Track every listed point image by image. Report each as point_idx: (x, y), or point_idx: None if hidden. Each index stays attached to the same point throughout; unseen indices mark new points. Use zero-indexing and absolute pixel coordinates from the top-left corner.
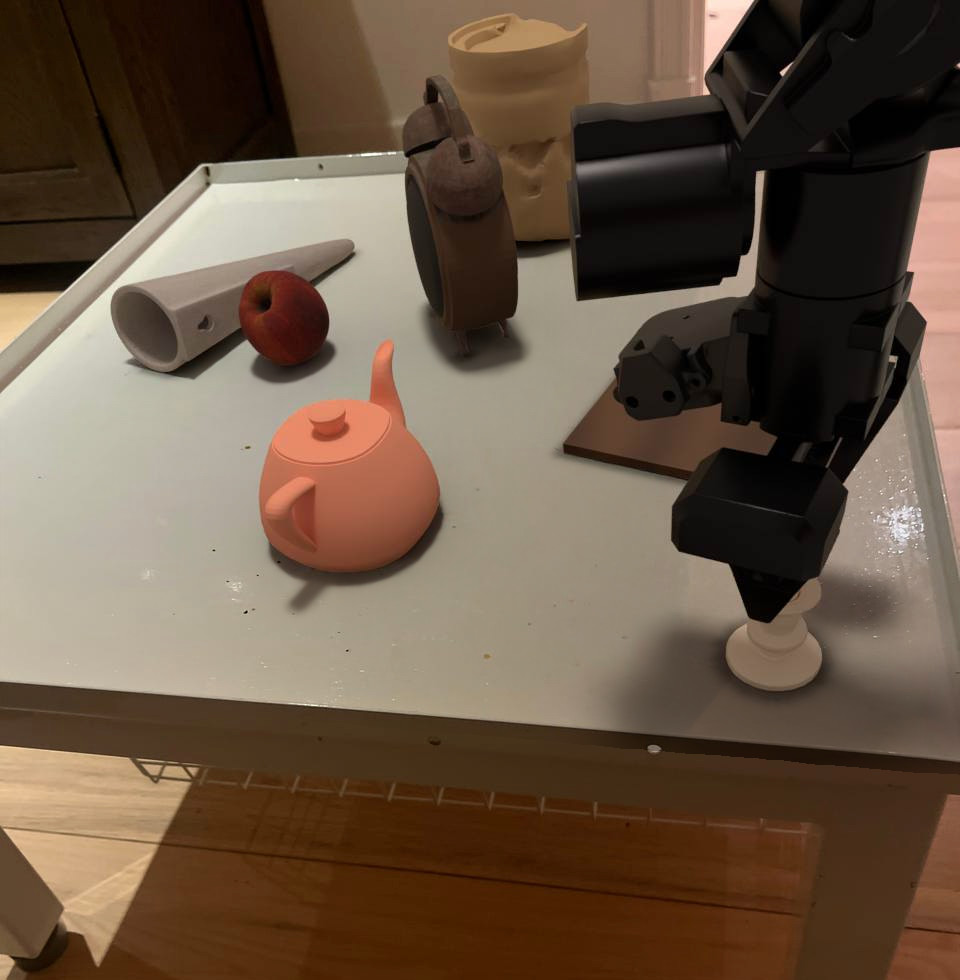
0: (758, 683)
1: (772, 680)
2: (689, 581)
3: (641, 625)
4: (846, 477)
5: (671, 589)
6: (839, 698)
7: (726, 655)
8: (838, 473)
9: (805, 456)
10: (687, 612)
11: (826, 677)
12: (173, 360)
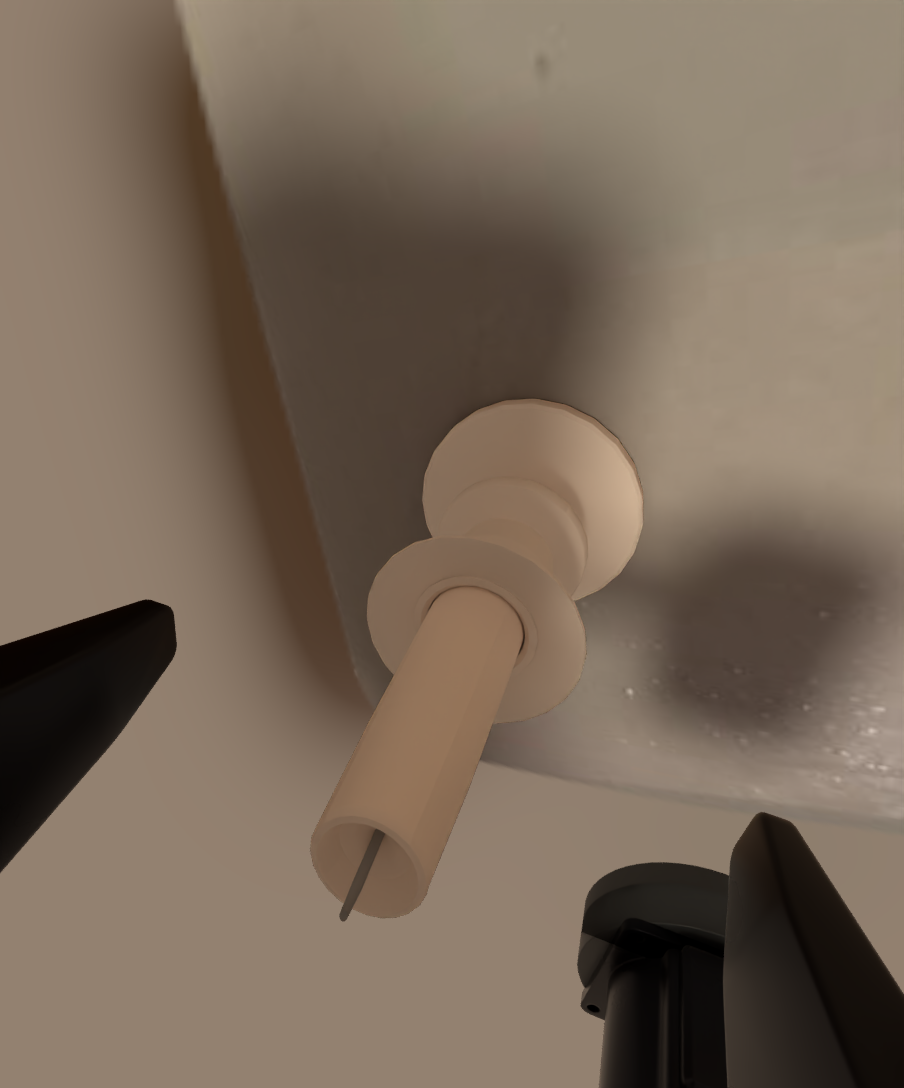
0: (424, 482)
1: (435, 511)
2: (851, 244)
3: (607, 115)
4: (728, 1083)
5: (806, 184)
6: None
7: (498, 405)
8: (746, 1082)
9: (845, 1084)
10: (683, 265)
11: None
12: None
